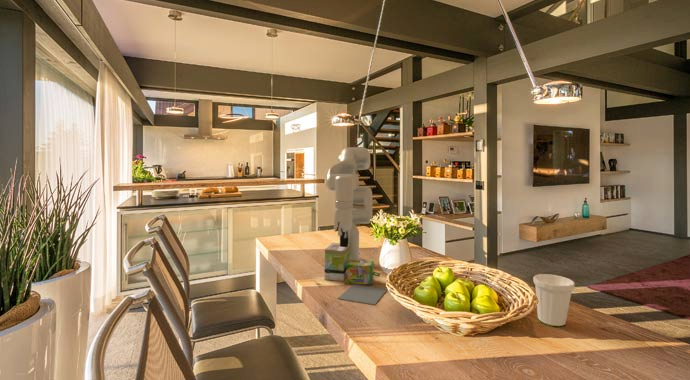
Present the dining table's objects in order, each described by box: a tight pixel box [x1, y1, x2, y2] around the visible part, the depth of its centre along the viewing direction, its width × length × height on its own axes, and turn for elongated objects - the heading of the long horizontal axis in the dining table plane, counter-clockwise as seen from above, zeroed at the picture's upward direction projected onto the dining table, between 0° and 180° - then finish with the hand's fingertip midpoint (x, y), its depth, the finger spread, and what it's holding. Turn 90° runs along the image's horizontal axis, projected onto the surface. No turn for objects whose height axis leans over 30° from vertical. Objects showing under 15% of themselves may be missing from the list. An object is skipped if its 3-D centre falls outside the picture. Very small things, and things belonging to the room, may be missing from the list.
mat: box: [337, 284, 388, 306], centre depth 150 cm, size 18×16×1 cm
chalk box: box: [346, 259, 381, 286], centre depth 164 cm, size 9×9×15 cm
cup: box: [532, 273, 576, 327], centre depth 124 cm, size 12×12×15 cm
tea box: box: [323, 242, 350, 282], centre depth 173 cm, size 15×10×15 cm
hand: (344, 246), depth 152 cm, fingers closed
